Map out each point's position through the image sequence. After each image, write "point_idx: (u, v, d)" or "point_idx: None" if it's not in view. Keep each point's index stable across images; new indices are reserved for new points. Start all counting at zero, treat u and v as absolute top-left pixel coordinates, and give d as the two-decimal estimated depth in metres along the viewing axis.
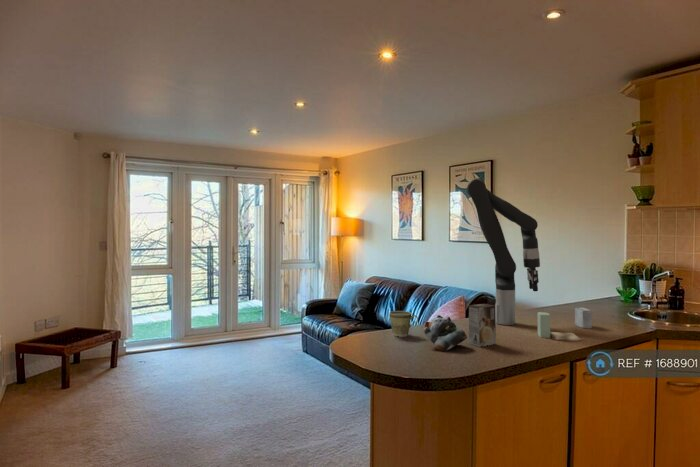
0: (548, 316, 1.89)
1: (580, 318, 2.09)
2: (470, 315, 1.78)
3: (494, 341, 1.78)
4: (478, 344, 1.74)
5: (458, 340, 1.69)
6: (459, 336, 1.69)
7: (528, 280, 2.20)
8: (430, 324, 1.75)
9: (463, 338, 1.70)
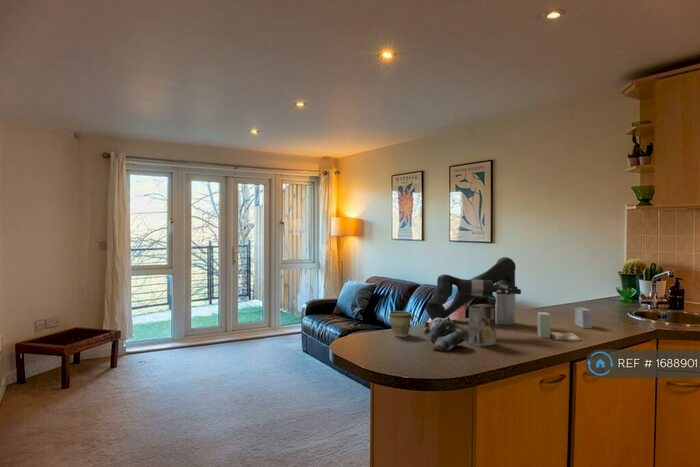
0: (548, 316, 1.89)
1: (580, 318, 2.09)
2: (470, 315, 1.78)
3: (494, 341, 1.78)
4: (478, 344, 1.74)
5: (458, 341, 1.68)
6: (459, 336, 1.69)
7: (507, 291, 2.00)
8: (430, 324, 1.74)
9: (463, 338, 1.70)
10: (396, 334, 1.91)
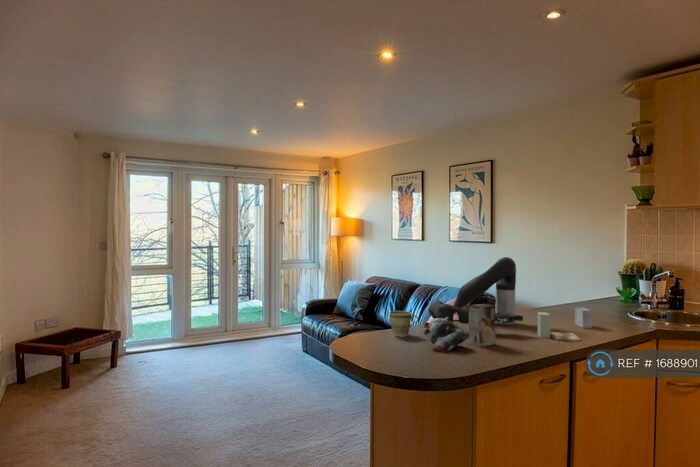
0: (548, 316, 1.89)
1: (580, 318, 2.09)
2: (470, 315, 1.78)
3: (494, 341, 1.78)
4: (478, 344, 1.74)
5: (458, 341, 1.68)
6: (459, 336, 1.69)
7: None
8: (430, 325, 1.74)
9: (463, 338, 1.69)
10: (396, 334, 1.91)
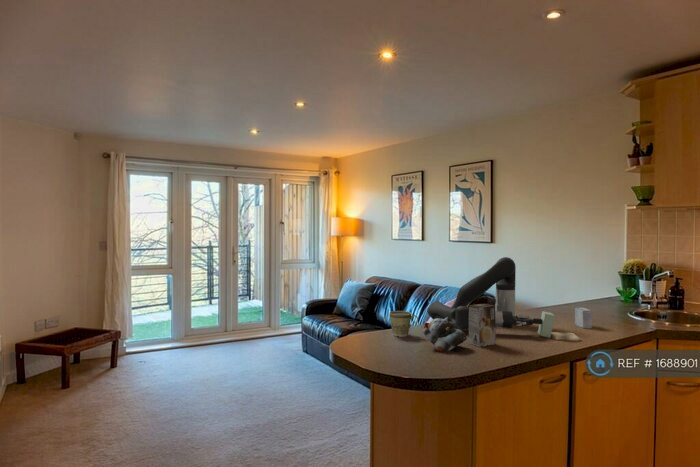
0: (552, 316, 1.89)
1: (580, 318, 2.09)
2: (470, 315, 1.78)
3: (494, 341, 1.78)
4: (478, 344, 1.74)
5: (458, 341, 1.67)
6: (459, 337, 1.68)
7: None
8: (430, 325, 1.73)
9: (463, 339, 1.69)
10: (396, 334, 1.91)
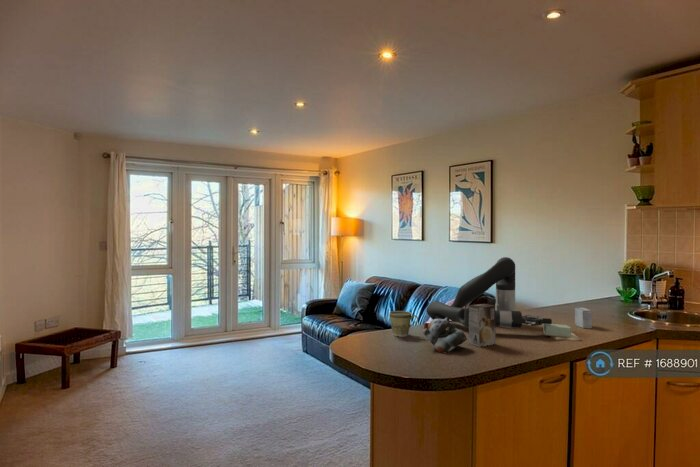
0: (569, 335, 1.87)
1: (580, 318, 2.09)
2: (470, 315, 1.78)
3: (494, 341, 1.78)
4: (478, 344, 1.74)
5: (459, 341, 1.67)
6: (459, 337, 1.68)
7: None
8: (429, 325, 1.72)
9: (463, 339, 1.68)
10: (396, 334, 1.91)
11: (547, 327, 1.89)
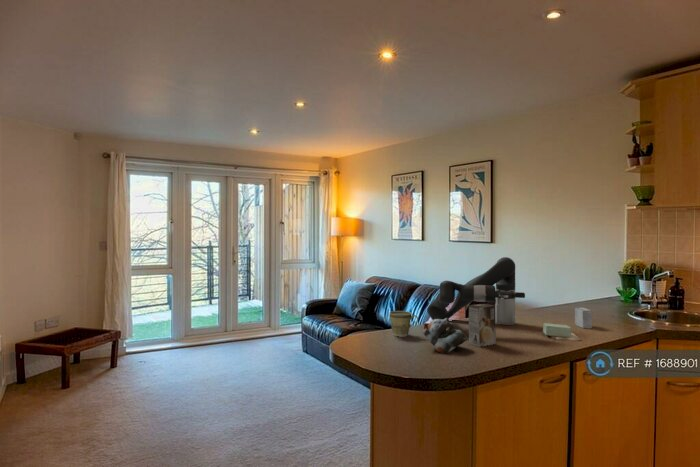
0: (569, 335, 1.87)
1: (580, 318, 2.09)
2: (470, 315, 1.78)
3: (494, 341, 1.78)
4: (478, 344, 1.74)
5: (459, 342, 1.67)
6: (459, 337, 1.67)
7: None
8: (429, 326, 1.72)
9: (463, 339, 1.68)
10: (396, 334, 1.91)
11: (547, 327, 1.89)
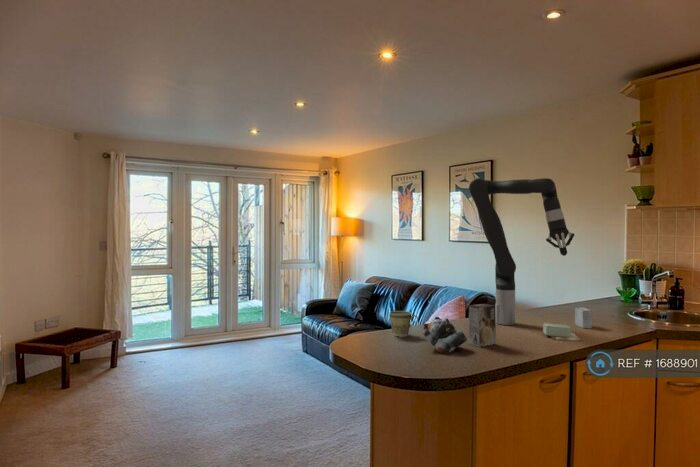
0: (569, 335, 1.87)
1: (580, 318, 2.09)
2: (470, 315, 1.78)
3: (494, 341, 1.78)
4: (478, 344, 1.74)
5: (459, 342, 1.66)
6: (459, 337, 1.67)
7: (561, 246, 2.03)
8: (429, 326, 1.71)
9: (463, 340, 1.68)
10: (396, 334, 1.91)
11: (547, 327, 1.89)
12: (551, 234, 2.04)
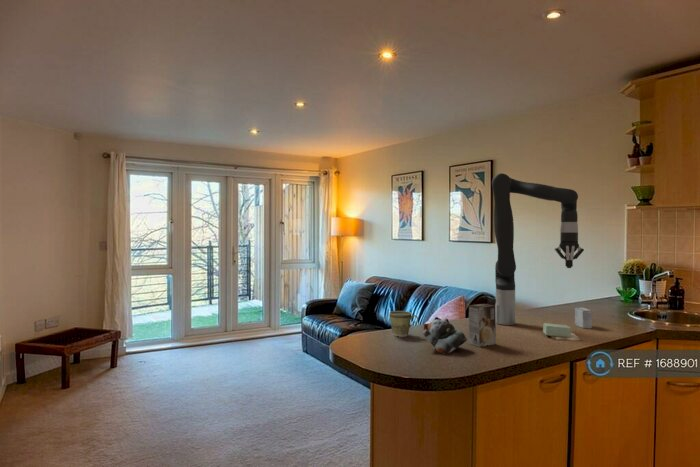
0: (569, 335, 1.87)
1: (580, 318, 2.09)
2: (470, 315, 1.78)
3: (494, 341, 1.78)
4: (478, 344, 1.74)
5: (459, 342, 1.66)
6: (459, 338, 1.66)
7: (568, 258, 2.05)
8: (429, 326, 1.71)
9: (463, 340, 1.67)
10: (396, 334, 1.91)
11: (547, 327, 1.89)
12: (562, 245, 2.06)
